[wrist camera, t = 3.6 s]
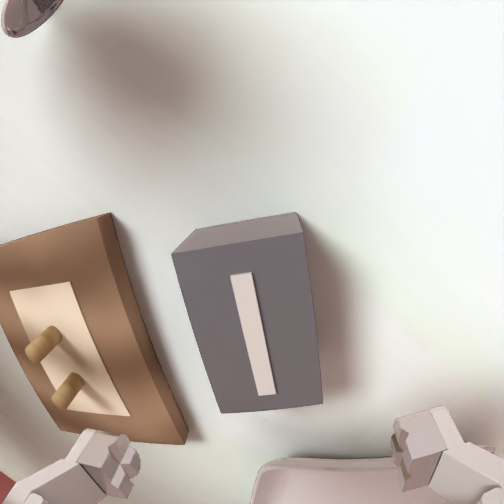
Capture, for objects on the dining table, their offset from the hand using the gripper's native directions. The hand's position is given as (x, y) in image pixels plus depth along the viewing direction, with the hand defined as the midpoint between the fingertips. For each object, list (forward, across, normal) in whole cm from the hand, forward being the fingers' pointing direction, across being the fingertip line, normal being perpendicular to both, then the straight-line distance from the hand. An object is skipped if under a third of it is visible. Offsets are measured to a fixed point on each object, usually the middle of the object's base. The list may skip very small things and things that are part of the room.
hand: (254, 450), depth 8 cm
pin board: (+9, +13, +2) cm, 16 cm away
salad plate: (+10, -5, +23) cm, 26 cm away
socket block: (+9, 0, -1) cm, 9 cm away
